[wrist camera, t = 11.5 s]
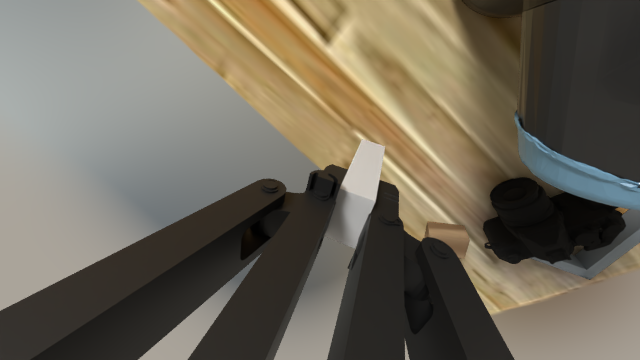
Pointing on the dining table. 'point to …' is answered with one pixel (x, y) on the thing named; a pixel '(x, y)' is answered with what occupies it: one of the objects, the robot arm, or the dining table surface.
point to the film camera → (547, 223)
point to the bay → (603, 250)
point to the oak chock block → (449, 236)
